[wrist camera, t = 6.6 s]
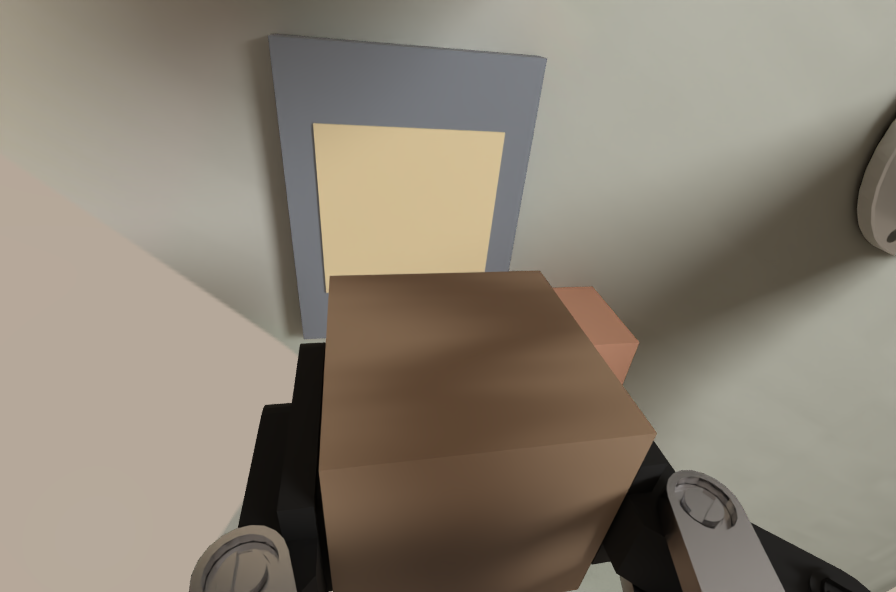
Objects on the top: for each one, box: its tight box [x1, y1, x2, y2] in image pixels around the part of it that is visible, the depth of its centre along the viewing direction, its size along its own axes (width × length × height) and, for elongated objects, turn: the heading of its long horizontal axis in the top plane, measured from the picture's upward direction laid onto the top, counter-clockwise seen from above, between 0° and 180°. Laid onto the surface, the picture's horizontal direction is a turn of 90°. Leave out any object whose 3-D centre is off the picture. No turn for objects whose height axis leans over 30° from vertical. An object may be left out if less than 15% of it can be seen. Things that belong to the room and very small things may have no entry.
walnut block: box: [319, 271, 657, 592], centre depth 10 cm, size 5×5×5 cm
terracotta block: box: [553, 287, 639, 385], centre depth 23 cm, size 5×5×5 cm
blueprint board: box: [268, 34, 547, 339], centre depth 20 cm, size 10×13×1 cm
